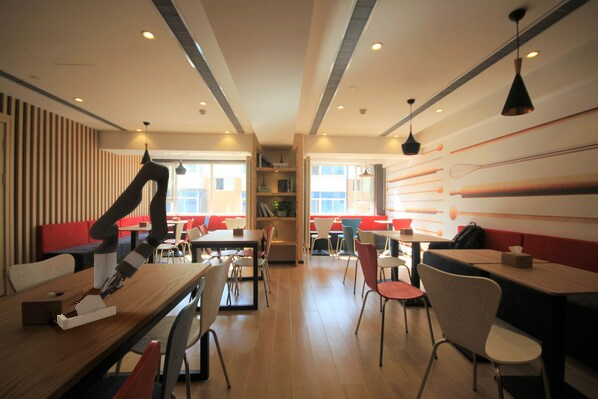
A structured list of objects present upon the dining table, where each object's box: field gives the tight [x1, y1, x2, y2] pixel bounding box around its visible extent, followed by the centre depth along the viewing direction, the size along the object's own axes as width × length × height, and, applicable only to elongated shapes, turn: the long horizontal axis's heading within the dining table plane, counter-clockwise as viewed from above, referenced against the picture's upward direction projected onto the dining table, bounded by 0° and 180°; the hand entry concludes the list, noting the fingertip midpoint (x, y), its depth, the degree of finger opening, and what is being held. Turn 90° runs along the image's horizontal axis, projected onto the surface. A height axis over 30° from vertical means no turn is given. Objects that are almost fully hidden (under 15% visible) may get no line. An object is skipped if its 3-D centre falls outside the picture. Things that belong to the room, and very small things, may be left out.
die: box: [75, 294, 107, 316], centre depth 95 cm, size 8×9×10 cm
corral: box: [55, 305, 117, 331], centre depth 97 cm, size 17×15×3 cm
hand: (95, 302), depth 100 cm, fingers closed
